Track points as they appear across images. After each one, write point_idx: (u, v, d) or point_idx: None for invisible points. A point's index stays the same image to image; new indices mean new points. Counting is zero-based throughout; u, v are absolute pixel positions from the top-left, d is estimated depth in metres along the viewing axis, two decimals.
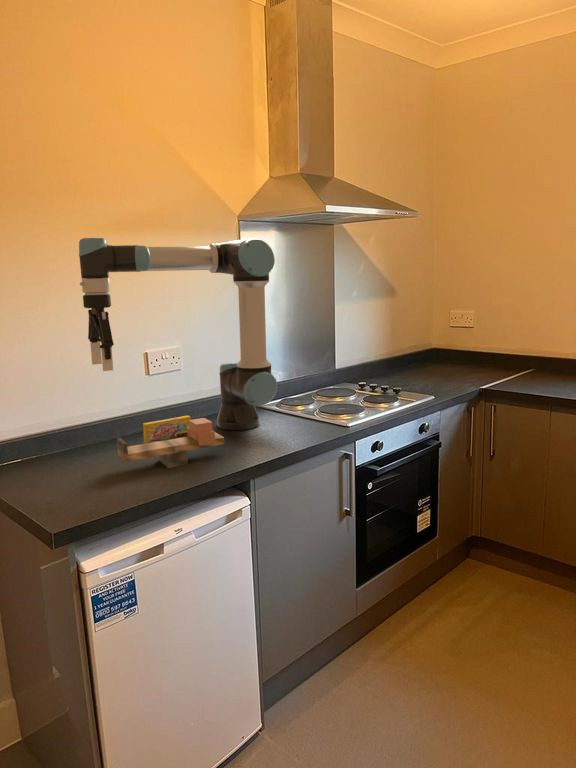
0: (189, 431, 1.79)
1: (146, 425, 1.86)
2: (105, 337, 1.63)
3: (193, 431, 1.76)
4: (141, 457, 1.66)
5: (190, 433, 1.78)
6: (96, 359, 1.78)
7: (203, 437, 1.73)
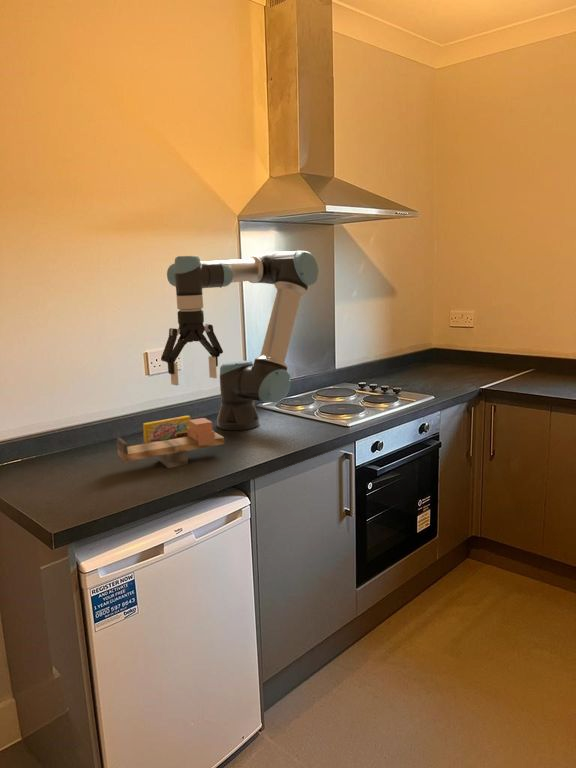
0: (189, 431, 1.79)
1: (146, 425, 1.86)
2: (164, 352, 1.70)
3: (193, 431, 1.76)
4: (141, 457, 1.66)
5: (190, 433, 1.78)
6: (211, 373, 1.81)
7: (203, 437, 1.73)
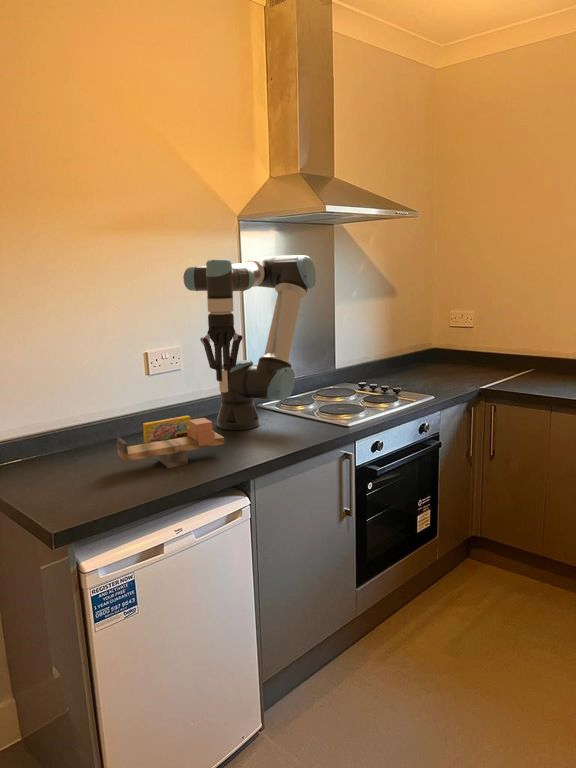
0: (189, 431, 1.79)
1: (146, 425, 1.86)
2: (209, 361, 1.76)
3: (193, 431, 1.76)
4: (141, 457, 1.66)
5: (190, 433, 1.78)
6: None
7: (203, 437, 1.73)
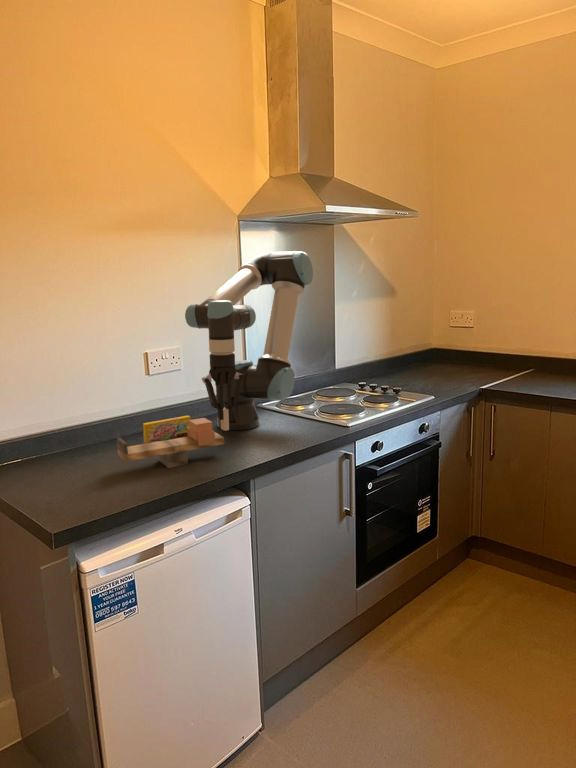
0: (189, 431, 1.79)
1: (146, 425, 1.86)
2: (210, 400, 1.78)
3: (193, 431, 1.76)
4: (141, 457, 1.66)
5: (190, 433, 1.78)
6: None
7: (203, 437, 1.73)
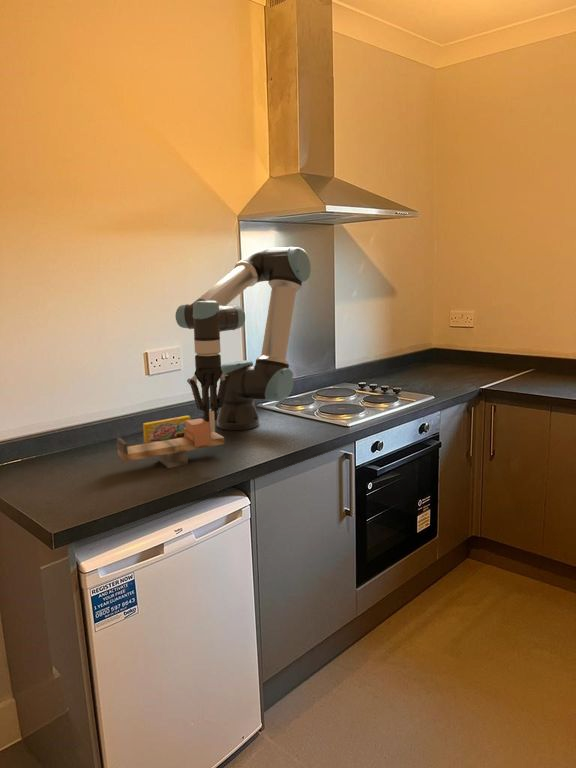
0: (186, 432, 1.78)
1: (146, 425, 1.86)
2: (196, 402, 1.76)
3: (190, 432, 1.75)
4: (141, 457, 1.66)
5: (186, 434, 1.78)
6: None
7: (200, 438, 1.73)
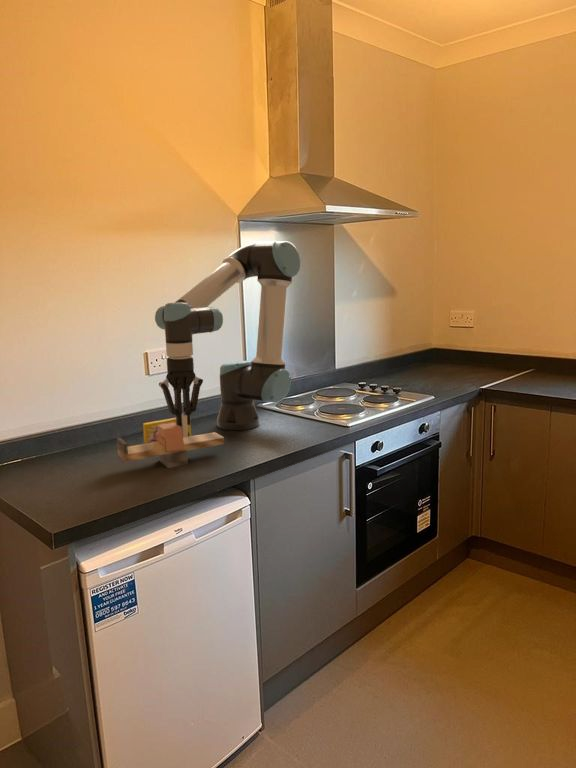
0: (158, 436, 1.74)
1: (146, 425, 1.86)
2: (168, 406, 1.71)
3: (161, 436, 1.71)
4: (141, 457, 1.66)
5: (158, 438, 1.74)
6: None
7: (171, 442, 1.68)
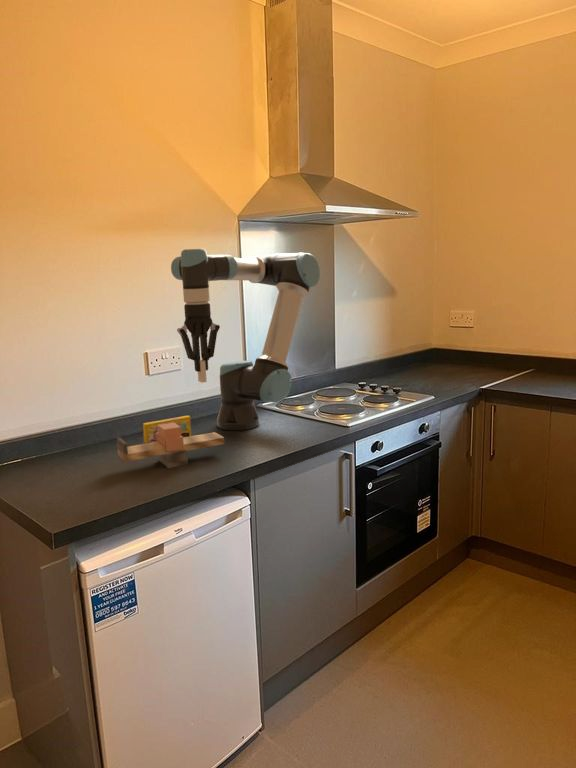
0: (158, 436, 1.74)
1: (146, 425, 1.86)
2: (186, 352, 1.75)
3: (161, 436, 1.71)
4: (141, 457, 1.66)
5: (158, 439, 1.74)
6: None
7: (171, 442, 1.68)
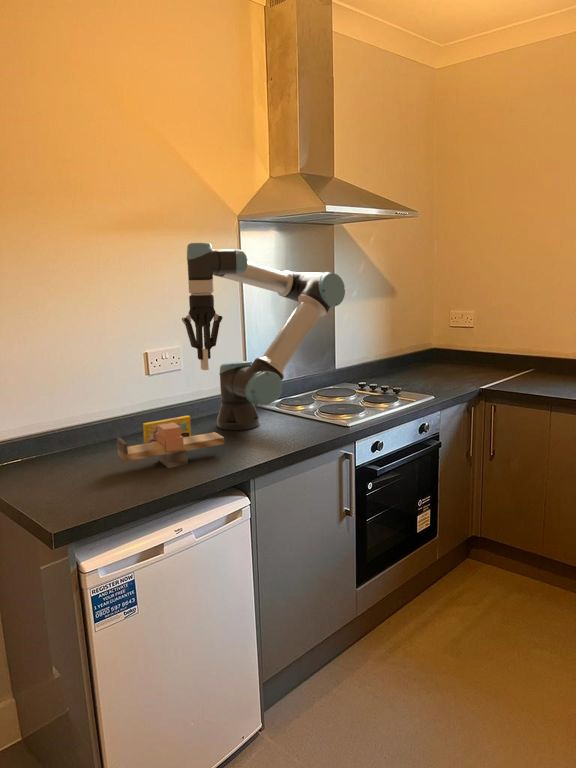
0: (158, 436, 1.74)
1: (146, 425, 1.86)
2: (190, 340, 1.84)
3: (161, 436, 1.71)
4: (141, 457, 1.66)
5: (158, 439, 1.74)
6: None
7: (171, 442, 1.68)
